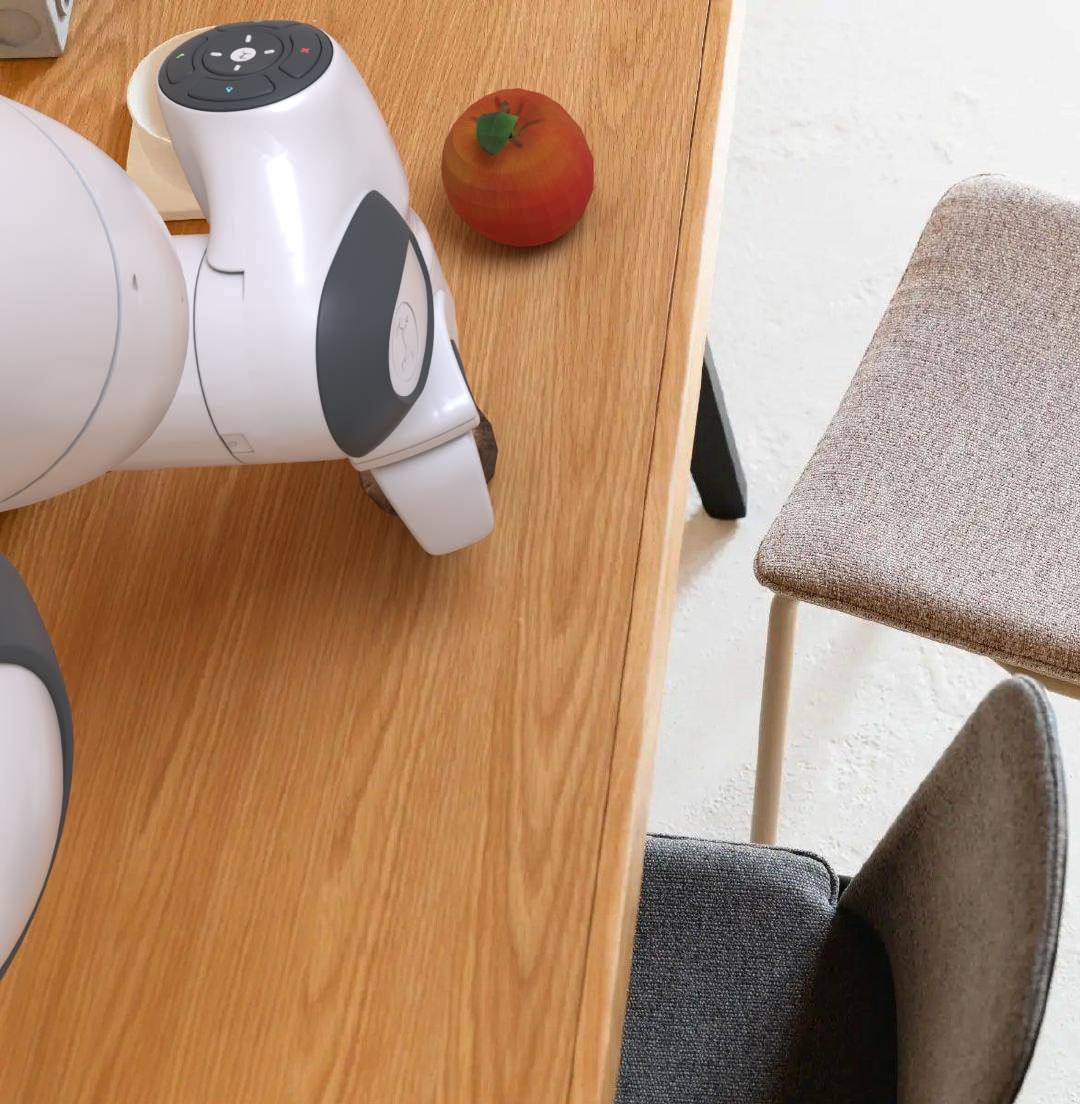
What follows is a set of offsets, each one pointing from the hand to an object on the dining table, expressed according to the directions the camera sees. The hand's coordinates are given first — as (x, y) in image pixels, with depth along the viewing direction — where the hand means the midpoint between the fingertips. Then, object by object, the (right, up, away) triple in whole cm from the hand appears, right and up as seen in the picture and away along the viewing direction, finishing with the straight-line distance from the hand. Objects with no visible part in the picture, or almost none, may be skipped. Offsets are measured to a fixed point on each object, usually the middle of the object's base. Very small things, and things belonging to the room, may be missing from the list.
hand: (429, 457), depth 85 cm
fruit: (+3, +17, +12) cm, 21 cm away
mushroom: (0, -1, +2) cm, 3 cm away
